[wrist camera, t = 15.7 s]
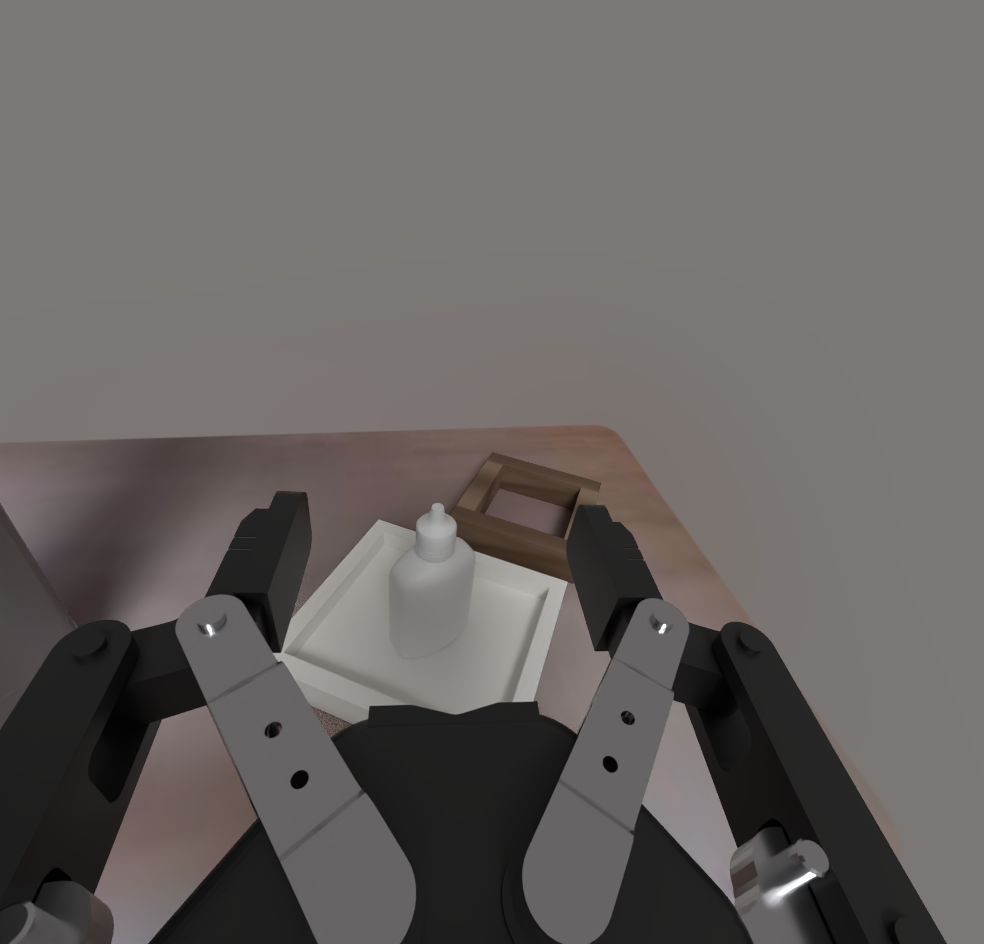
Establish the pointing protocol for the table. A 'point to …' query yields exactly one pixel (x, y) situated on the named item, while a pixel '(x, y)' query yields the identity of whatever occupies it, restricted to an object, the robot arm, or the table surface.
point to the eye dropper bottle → (431, 587)
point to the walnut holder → (513, 538)
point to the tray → (433, 678)
